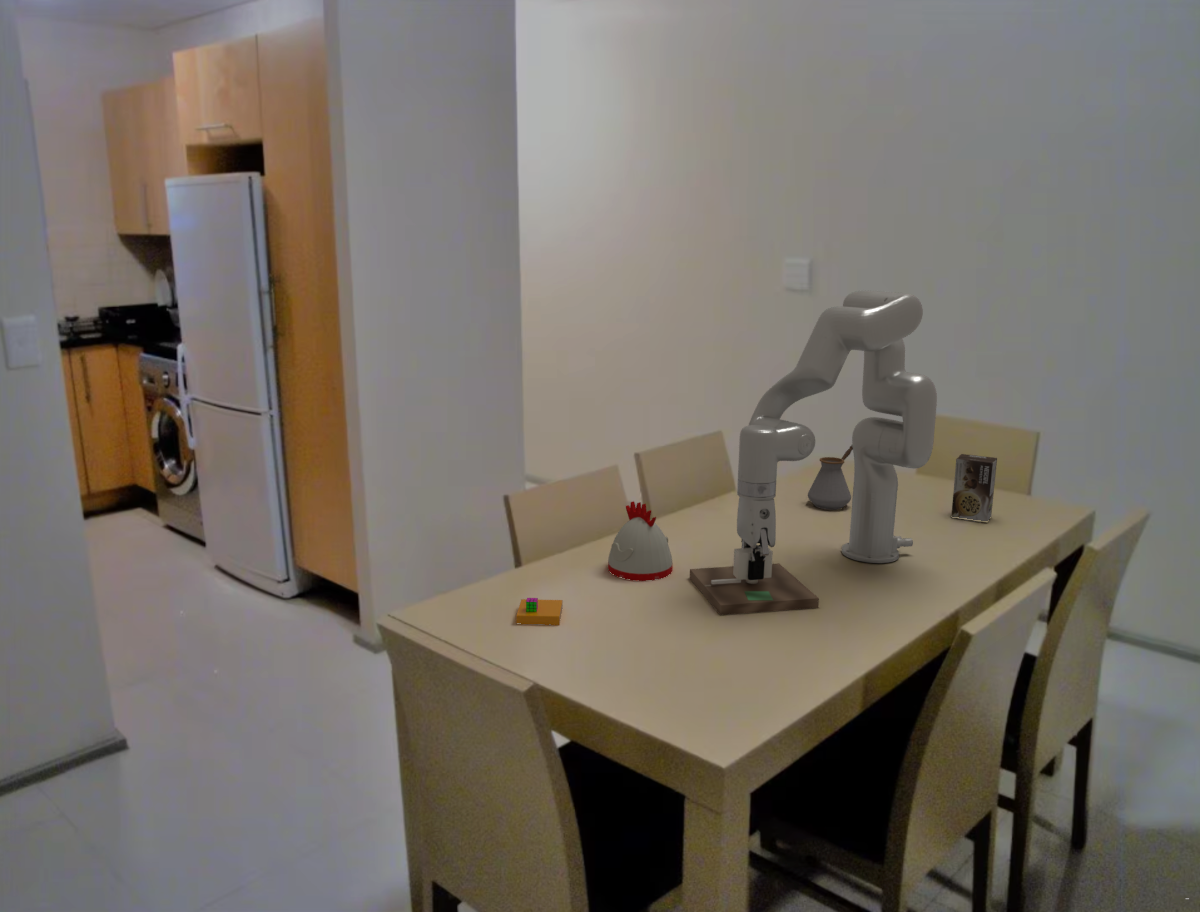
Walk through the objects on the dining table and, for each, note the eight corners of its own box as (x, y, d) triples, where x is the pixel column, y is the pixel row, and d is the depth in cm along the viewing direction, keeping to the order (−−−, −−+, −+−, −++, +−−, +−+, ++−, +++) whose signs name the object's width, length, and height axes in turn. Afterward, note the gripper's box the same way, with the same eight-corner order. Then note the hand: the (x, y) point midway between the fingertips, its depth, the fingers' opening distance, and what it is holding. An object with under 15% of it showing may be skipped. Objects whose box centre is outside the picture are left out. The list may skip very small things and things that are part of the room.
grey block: (765, 577, 187) (767, 546, 186) (770, 583, 184) (772, 551, 183) (709, 581, 185) (710, 550, 183) (714, 587, 182) (715, 555, 180)
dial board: (778, 572, 197) (779, 562, 197) (818, 607, 178) (819, 597, 177) (689, 578, 193) (689, 568, 193) (720, 615, 174) (720, 604, 174)
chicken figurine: (638, 554, 208) (640, 490, 204) (685, 570, 198) (687, 503, 195) (594, 569, 198) (595, 502, 195) (641, 586, 188) (642, 516, 185)
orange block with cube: (521, 609, 177) (521, 589, 176) (562, 610, 177) (562, 590, 176) (516, 626, 169) (516, 605, 168) (559, 627, 169) (559, 606, 168)
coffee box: (991, 517, 238) (998, 457, 234) (987, 524, 233) (994, 462, 229) (955, 512, 243) (961, 453, 239) (949, 518, 237) (955, 457, 234)
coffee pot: (839, 514, 239) (843, 458, 236) (799, 506, 246) (802, 452, 243) (871, 497, 256) (876, 445, 252) (833, 490, 263) (836, 439, 259)
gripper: (791, 498, 173) (785, 589, 178) (759, 477, 189) (755, 561, 193) (753, 500, 172) (749, 592, 176) (724, 478, 188) (721, 563, 192)
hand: (752, 575), depth 185 cm, fingers closed on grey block, 3 cm apart
